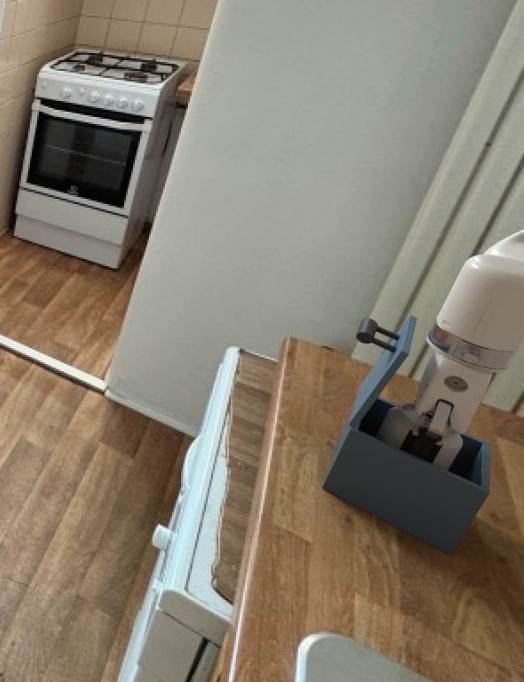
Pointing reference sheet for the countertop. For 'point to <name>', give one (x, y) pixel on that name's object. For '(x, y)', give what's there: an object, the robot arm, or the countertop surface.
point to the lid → (381, 362)
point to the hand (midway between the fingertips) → (417, 442)
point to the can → (405, 420)
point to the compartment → (410, 481)
